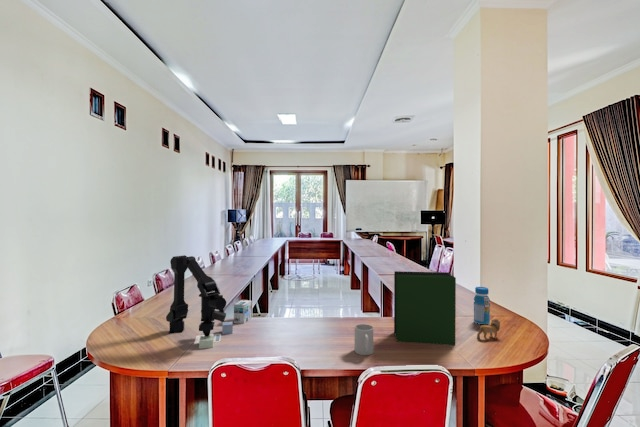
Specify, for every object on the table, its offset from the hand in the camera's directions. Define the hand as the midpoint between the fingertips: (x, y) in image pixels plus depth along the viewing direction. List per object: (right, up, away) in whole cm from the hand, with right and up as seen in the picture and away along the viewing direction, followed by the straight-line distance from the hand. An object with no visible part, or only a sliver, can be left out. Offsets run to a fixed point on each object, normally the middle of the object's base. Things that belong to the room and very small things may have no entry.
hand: (207, 339), depth 161 cm
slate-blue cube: (+6, -2, +13) cm, 15 cm away
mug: (+74, -2, -11) cm, 75 cm away
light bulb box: (+9, -2, +33) cm, 34 cm away
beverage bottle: (+146, -2, +30) cm, 149 cm away
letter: (-1, -2, +4) cm, 5 cm away
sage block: (+1, -2, -4) cm, 5 cm away
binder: (+105, -2, +7) cm, 106 cm away
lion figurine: (+138, -2, +8) cm, 139 cm away
